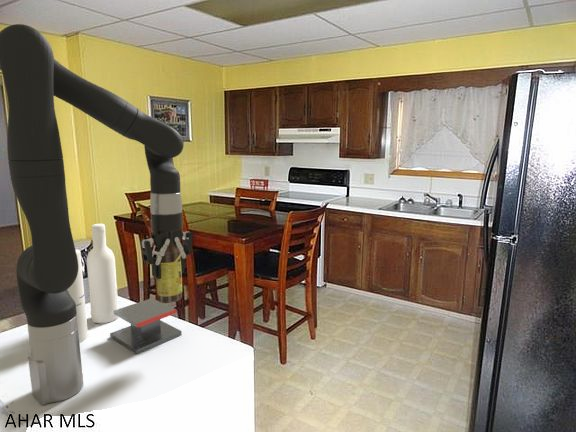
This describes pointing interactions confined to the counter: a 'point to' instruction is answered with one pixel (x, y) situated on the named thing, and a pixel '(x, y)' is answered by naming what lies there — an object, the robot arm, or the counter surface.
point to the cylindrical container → (79, 300)
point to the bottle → (102, 278)
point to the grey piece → (145, 325)
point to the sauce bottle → (170, 273)
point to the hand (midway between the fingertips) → (169, 274)
